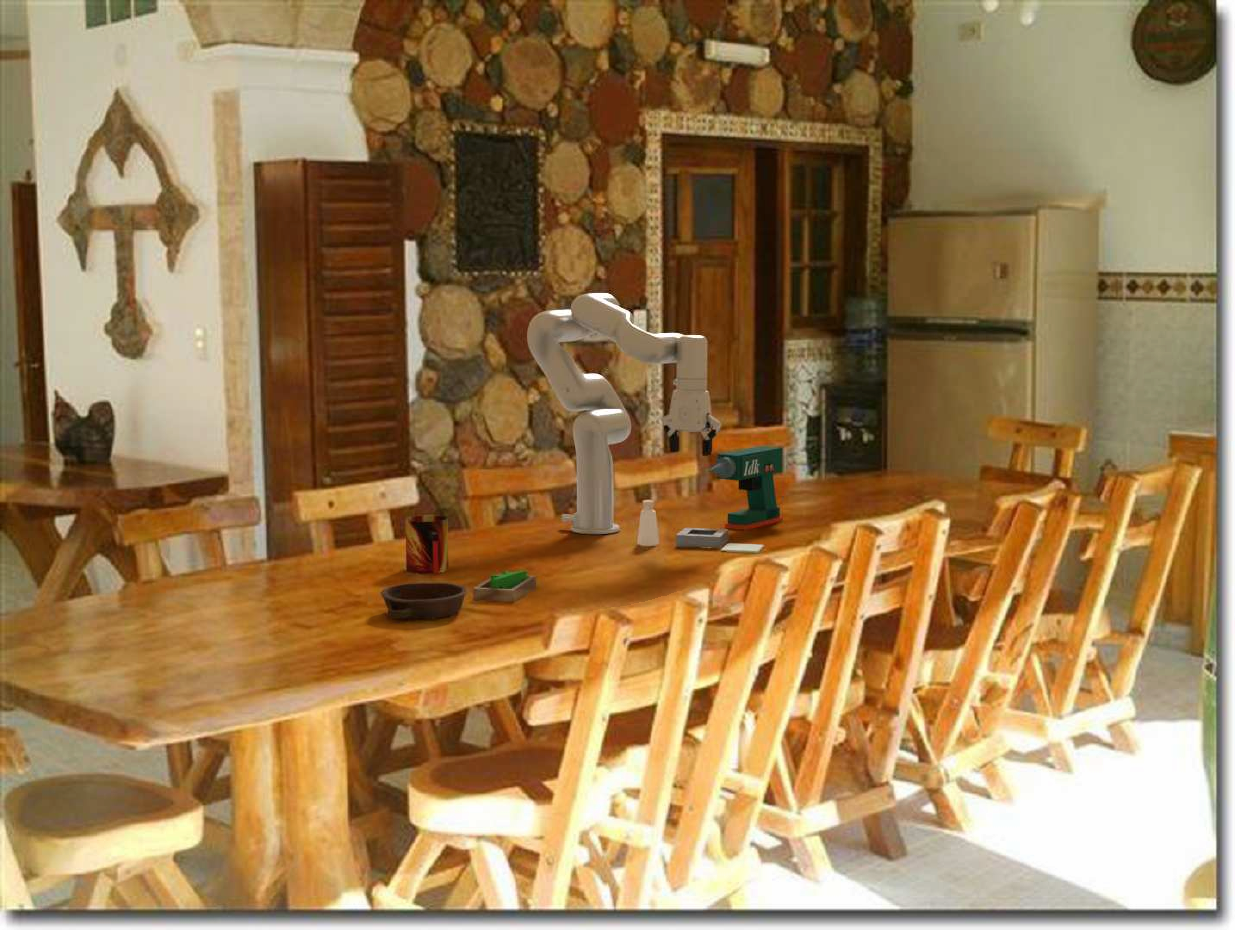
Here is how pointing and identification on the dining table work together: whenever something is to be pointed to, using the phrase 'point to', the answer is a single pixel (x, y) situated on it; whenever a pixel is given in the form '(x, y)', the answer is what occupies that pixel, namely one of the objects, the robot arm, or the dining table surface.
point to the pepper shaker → (648, 525)
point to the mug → (426, 544)
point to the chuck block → (702, 537)
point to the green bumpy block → (508, 579)
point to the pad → (742, 548)
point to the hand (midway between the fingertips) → (690, 453)
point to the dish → (423, 600)
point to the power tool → (752, 483)
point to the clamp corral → (503, 591)
